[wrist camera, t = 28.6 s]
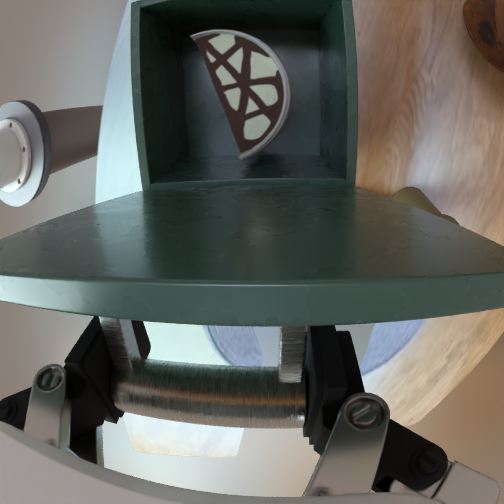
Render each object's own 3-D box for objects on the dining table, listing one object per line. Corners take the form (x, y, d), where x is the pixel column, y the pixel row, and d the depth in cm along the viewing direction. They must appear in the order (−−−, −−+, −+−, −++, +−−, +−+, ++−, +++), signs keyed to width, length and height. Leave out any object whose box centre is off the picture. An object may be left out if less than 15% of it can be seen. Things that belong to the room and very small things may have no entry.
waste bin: (177, 34, 26) (130, 2, 14) (322, 26, 24) (350, -14, 13) (185, 163, 33) (142, 194, 22) (325, 160, 32) (355, 189, 21)
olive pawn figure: (413, 236, 36) (450, 279, 26) (380, 219, 35) (414, 260, 25) (434, 199, 33) (479, 232, 23) (401, 178, 32) (445, 208, 22)
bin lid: (-58, 266, 5) (4, 408, 7) (547, 269, 4) (465, 444, 6) (140, 190, 21) (148, 262, 23) (356, 185, 20) (352, 262, 22)
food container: (302, 132, 30) (315, 141, 21) (249, 148, 31) (241, 164, 22) (264, 34, 25) (262, 4, 16) (211, 52, 26) (188, 31, 17)
